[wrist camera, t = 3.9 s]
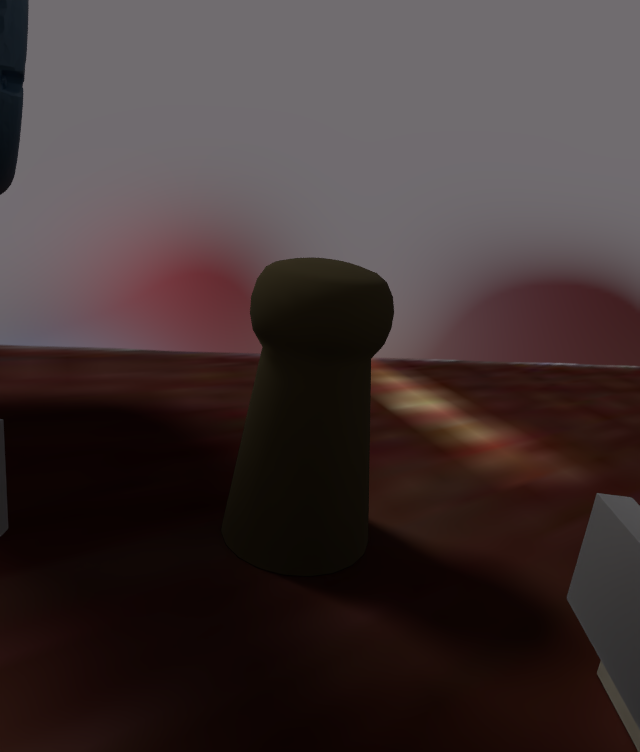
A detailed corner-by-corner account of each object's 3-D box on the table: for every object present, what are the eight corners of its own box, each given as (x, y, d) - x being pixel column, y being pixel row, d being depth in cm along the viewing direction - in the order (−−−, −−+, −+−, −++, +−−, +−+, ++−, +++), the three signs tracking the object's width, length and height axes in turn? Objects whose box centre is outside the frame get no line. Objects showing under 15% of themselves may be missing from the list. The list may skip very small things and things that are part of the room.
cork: (257, 592, 20) (290, 272, 17) (200, 505, 25) (217, 244, 22) (397, 556, 23) (448, 279, 20) (322, 485, 28) (353, 253, 25)
